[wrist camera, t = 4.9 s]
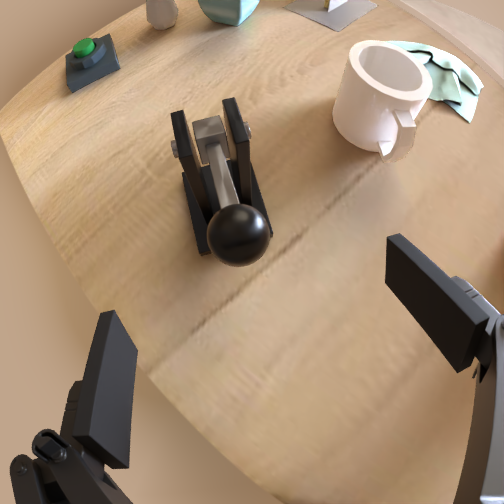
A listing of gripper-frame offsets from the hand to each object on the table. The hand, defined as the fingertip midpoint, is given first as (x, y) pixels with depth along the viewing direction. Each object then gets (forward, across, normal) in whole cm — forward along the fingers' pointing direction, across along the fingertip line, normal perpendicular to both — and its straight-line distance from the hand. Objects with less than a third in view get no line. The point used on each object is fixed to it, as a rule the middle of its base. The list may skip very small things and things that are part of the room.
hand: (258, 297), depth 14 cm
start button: (+44, -17, +22) cm, 52 cm away
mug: (+27, +21, 0) cm, 34 cm away
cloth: (+34, +39, +8) cm, 53 cm away
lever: (+9, 0, +1) cm, 9 cm away
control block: (+46, -17, +20) cm, 53 cm away
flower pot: (+48, +9, +21) cm, 54 cm away
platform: (+50, +30, +23) cm, 62 cm away
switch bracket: (+23, 0, -4) cm, 23 cm away
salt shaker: (+51, -3, +24) cm, 56 cm away
